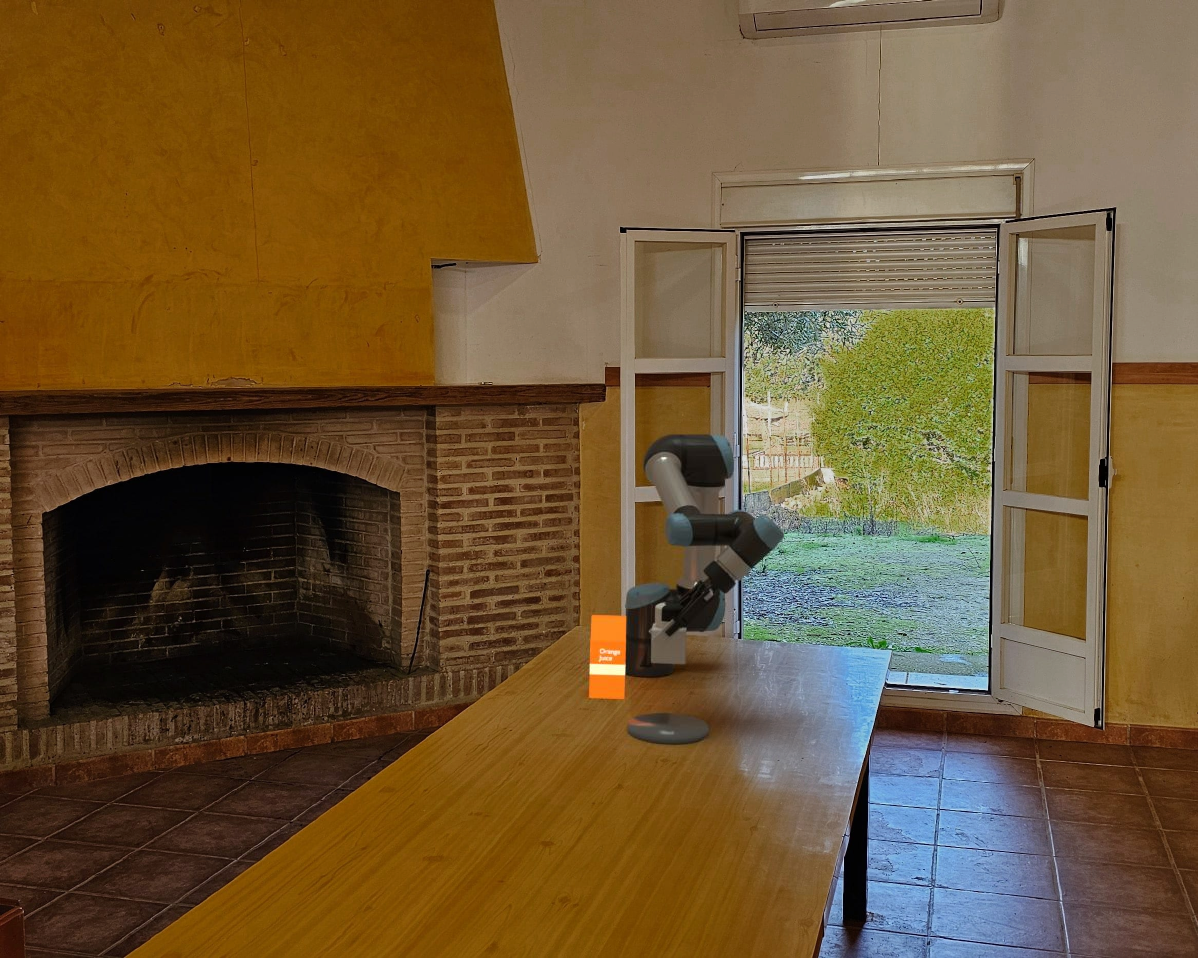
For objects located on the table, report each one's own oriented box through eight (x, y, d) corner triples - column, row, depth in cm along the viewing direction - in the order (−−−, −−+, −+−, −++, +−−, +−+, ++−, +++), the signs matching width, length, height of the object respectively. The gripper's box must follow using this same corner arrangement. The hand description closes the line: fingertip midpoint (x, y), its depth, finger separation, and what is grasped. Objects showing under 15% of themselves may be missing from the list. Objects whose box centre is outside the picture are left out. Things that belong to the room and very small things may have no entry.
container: (685, 657, 258) (686, 601, 258) (685, 664, 251) (686, 607, 250) (652, 655, 259) (653, 600, 258) (650, 663, 251) (652, 606, 251)
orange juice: (624, 698, 276) (626, 619, 274) (588, 698, 276) (590, 618, 274) (624, 690, 283) (626, 612, 282) (589, 689, 284) (591, 611, 282)
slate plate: (611, 730, 250) (611, 723, 250) (663, 714, 263) (663, 708, 263) (673, 749, 238) (673, 742, 238) (724, 732, 251) (724, 725, 251)
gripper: (744, 590, 244) (669, 661, 244) (730, 575, 265) (661, 641, 265) (721, 565, 243) (646, 637, 244) (708, 552, 264) (639, 619, 265)
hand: (654, 639), depth 255 cm, fingers closed on container, 8 cm apart
